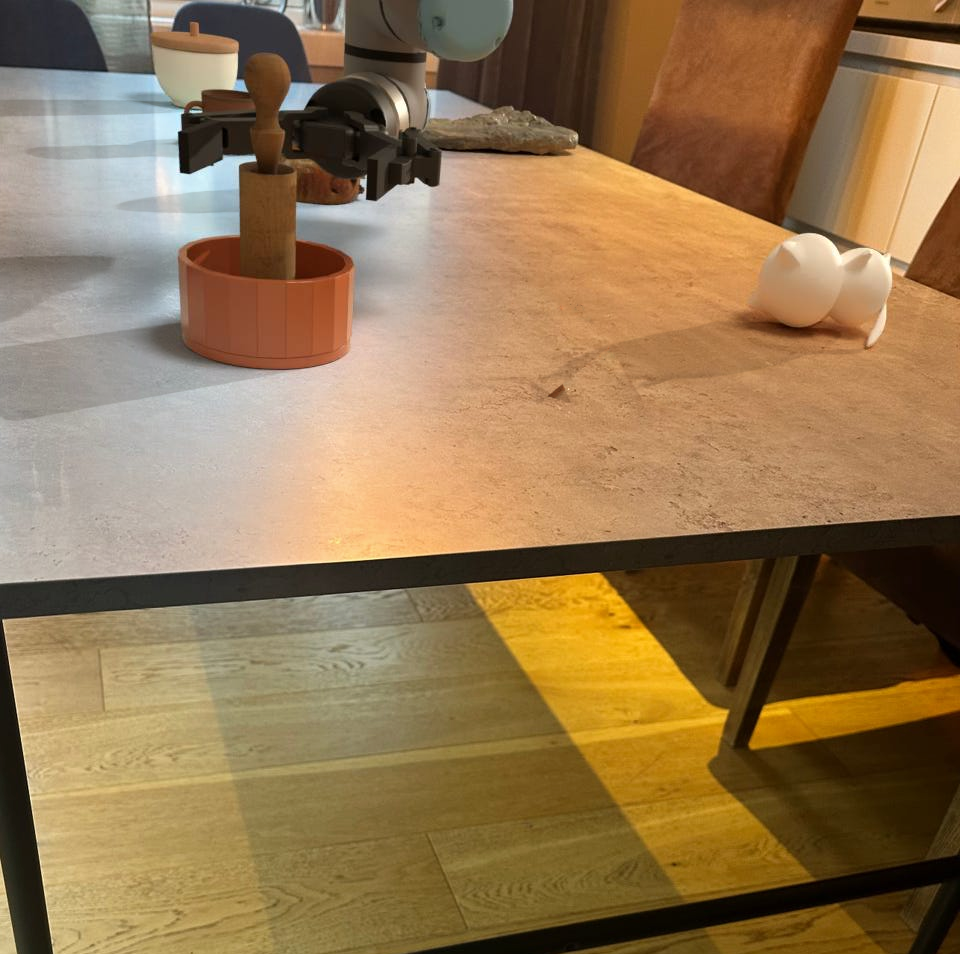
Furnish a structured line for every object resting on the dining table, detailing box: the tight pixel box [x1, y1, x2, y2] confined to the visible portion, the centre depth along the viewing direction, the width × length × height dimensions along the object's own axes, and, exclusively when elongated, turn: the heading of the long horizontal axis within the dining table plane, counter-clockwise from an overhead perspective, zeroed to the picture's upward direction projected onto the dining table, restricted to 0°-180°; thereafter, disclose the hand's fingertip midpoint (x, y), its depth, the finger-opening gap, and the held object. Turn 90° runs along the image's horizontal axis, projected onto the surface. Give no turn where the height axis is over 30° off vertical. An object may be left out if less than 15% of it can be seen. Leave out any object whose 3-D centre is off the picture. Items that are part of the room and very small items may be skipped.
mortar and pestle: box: [238, 52, 297, 280], centre depth 75 cm, size 7×6×18 cm
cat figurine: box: [746, 232, 893, 348], centre depth 95 cm, size 9×11×12 cm
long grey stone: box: [421, 105, 579, 156], centre depth 157 cm, size 35×5×10 cm
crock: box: [177, 234, 356, 370], centre depth 78 cm, size 12×12×6 cm
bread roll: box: [279, 144, 367, 205], centre depth 121 cm, size 10×10×8 cm
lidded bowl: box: [149, 21, 240, 111], centre depth 161 cm, size 13×13×11 cm
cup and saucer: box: [183, 89, 255, 113], centre depth 139 cm, size 12×12×6 cm
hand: (276, 166), depth 76 cm, fingers open, 13 cm apart
